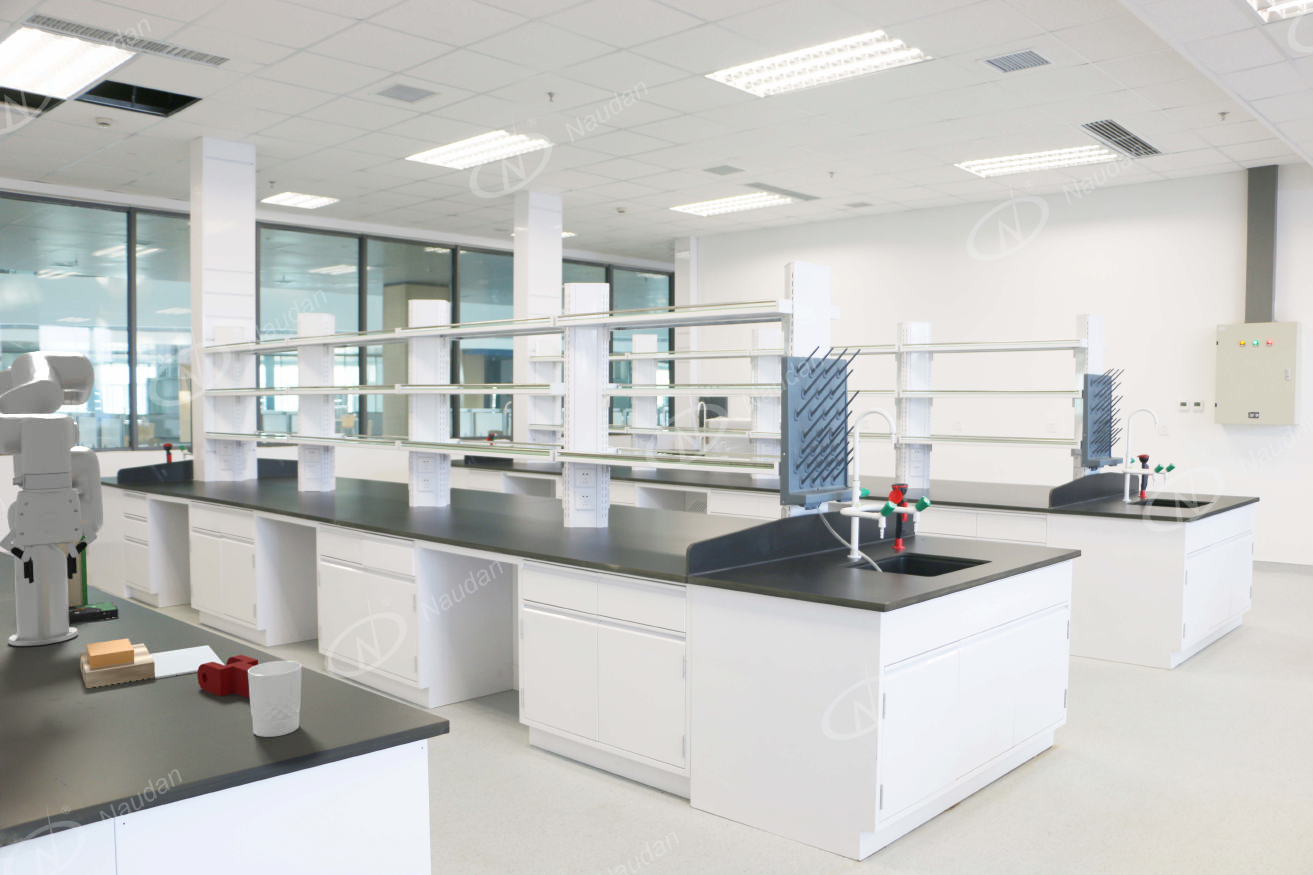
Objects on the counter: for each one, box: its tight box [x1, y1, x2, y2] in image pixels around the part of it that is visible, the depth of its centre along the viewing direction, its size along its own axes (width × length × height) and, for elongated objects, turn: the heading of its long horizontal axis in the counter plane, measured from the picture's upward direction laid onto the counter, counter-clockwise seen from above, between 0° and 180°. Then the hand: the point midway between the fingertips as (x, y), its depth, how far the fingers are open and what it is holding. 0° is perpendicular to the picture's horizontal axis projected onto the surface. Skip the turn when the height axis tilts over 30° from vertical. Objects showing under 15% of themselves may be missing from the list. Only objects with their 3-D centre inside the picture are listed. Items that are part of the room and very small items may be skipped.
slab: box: [86, 638, 134, 668], centre depth 172 cm, size 10×7×2 cm
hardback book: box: [55, 536, 89, 607], centre depth 228 cm, size 18×7×24 cm, turn 44°
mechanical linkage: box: [196, 654, 259, 699], centre depth 162 cm, size 16×7×5 cm, turn 54°
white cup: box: [248, 660, 302, 738], centre depth 143 cm, size 8×8×10 cm
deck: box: [79, 643, 155, 690], centre depth 173 cm, size 16×11×3 cm
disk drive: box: [69, 601, 119, 625], centre depth 217 cm, size 10×3×15 cm
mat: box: [150, 645, 225, 680], centre depth 180 cm, size 18×12×1 cm, turn 36°
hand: (50, 578), depth 166 cm, fingers open, 5 cm apart
